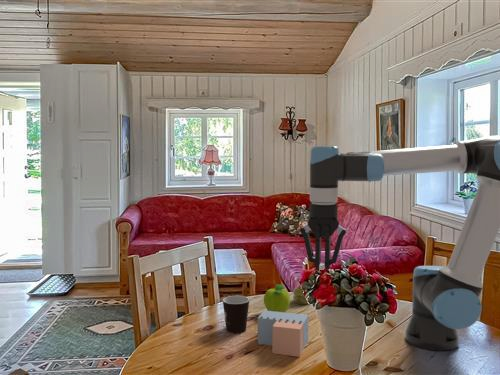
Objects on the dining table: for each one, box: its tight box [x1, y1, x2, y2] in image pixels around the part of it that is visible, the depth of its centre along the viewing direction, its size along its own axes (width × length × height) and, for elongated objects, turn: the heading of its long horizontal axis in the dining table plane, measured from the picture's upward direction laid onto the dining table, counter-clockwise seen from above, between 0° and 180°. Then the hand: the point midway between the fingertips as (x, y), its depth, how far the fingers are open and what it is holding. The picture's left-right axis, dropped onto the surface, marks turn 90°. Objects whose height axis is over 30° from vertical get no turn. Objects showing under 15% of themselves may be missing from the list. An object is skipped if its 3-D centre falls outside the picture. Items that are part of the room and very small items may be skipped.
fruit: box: [263, 283, 291, 313], centre depth 172 cm, size 9×9×10 cm
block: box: [272, 320, 304, 358], centre depth 141 cm, size 8×5×8 cm, turn 72°
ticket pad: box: [257, 309, 309, 351], centre depth 148 cm, size 14×7×8 cm, turn 72°
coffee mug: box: [222, 295, 250, 335], centre depth 159 cm, size 12×9×10 cm
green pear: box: [292, 276, 309, 306], centre depth 186 cm, size 7×7×10 cm
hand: (322, 287), depth 135 cm, fingers closed
